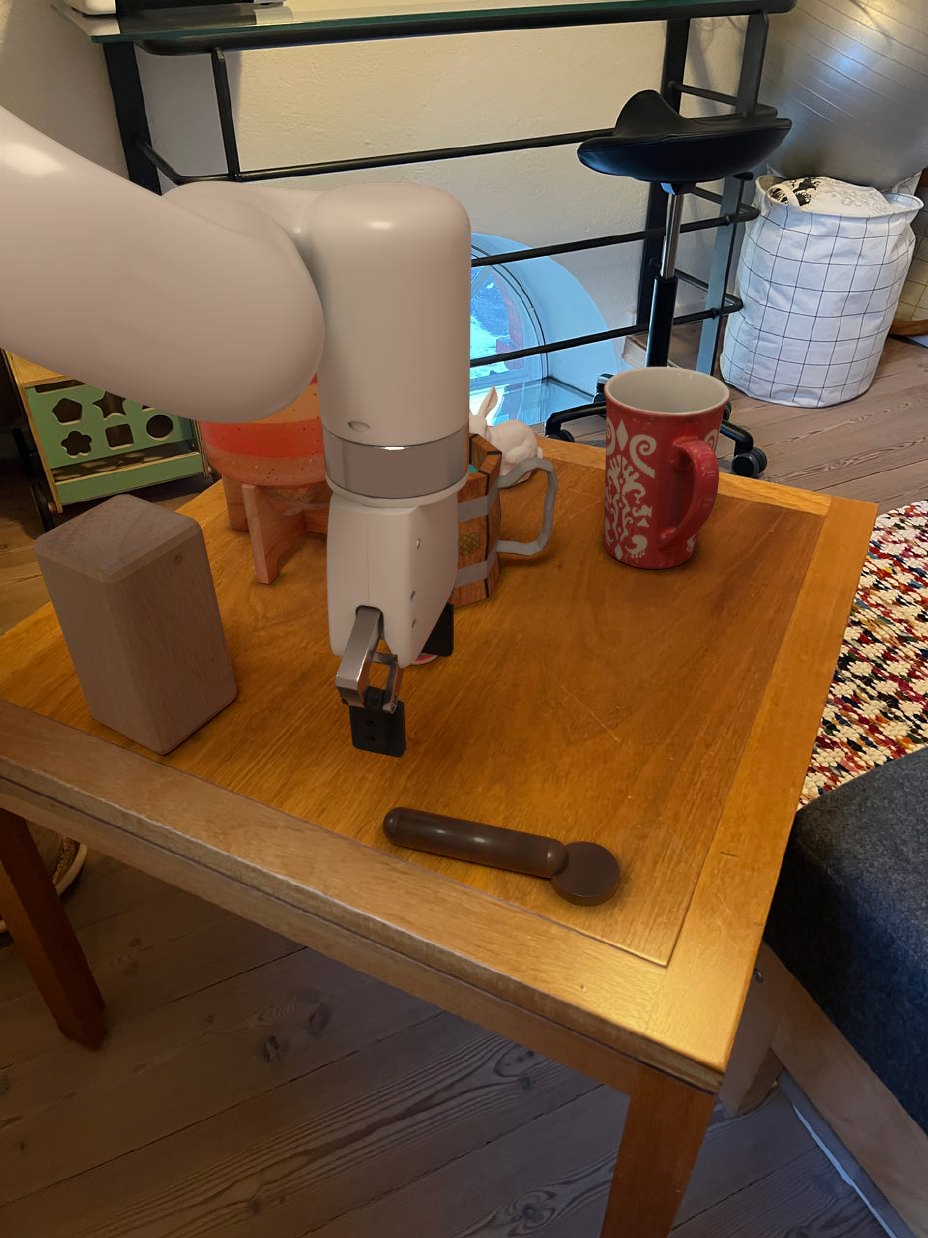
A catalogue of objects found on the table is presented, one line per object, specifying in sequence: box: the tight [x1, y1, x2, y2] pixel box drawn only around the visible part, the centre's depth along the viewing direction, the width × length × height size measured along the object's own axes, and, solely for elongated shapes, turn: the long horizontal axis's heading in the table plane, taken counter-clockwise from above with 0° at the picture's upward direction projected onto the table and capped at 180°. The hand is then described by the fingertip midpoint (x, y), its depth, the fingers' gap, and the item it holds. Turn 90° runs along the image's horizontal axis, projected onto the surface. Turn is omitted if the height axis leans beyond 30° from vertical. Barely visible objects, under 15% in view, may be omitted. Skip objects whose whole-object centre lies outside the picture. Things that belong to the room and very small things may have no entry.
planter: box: [198, 372, 334, 585], centre depth 102 cm, size 20×20×27 cm
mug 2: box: [603, 366, 731, 570], centre depth 100 cm, size 18×13×20 cm
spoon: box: [381, 806, 620, 907], centre depth 71 cm, size 19×5×3 cm, turn 74°
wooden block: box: [32, 493, 238, 755], centre depth 80 cm, size 10×10×20 cm
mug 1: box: [447, 433, 559, 610], centre depth 100 cm, size 20×14×15 cm
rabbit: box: [469, 384, 544, 486], centre depth 120 cm, size 12×9×12 cm
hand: (406, 697), depth 57 cm, fingers open, 9 cm apart
